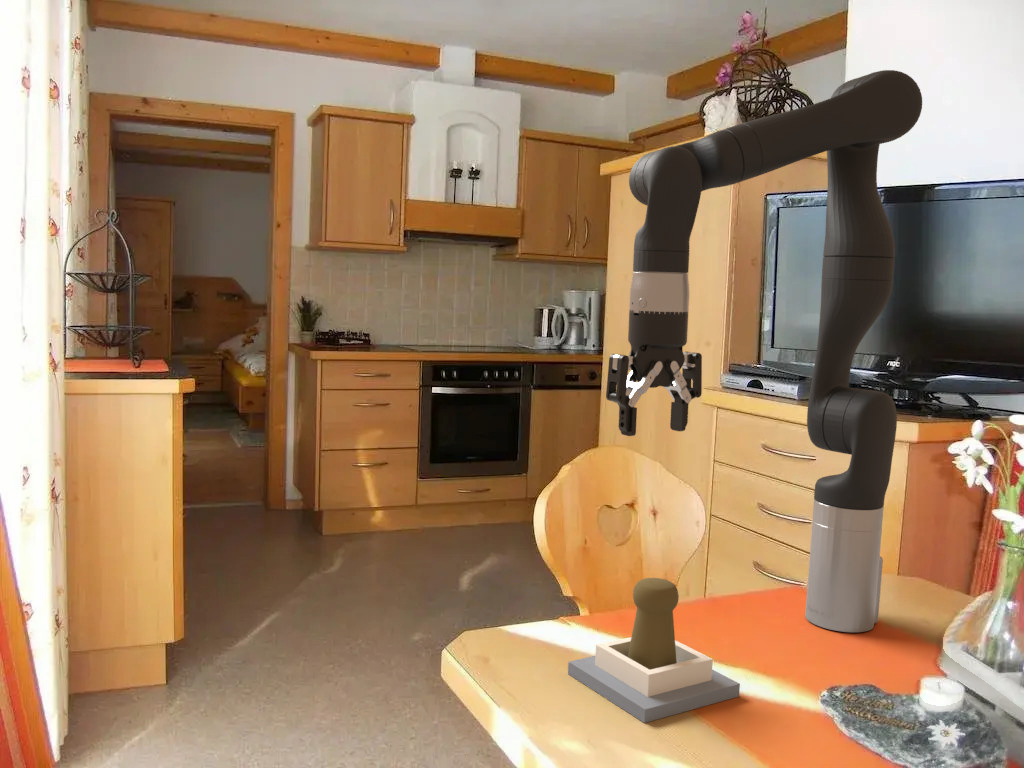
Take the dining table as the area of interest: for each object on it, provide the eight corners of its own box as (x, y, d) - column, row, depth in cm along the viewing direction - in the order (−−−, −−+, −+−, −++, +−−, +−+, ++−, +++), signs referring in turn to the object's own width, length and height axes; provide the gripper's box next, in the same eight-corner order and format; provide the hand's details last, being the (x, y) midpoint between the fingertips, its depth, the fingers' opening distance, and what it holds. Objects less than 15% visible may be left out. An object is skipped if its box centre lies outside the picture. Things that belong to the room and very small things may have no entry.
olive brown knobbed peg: (676, 686, 104) (681, 591, 103) (622, 679, 105) (627, 585, 104) (679, 665, 110) (684, 575, 109) (628, 659, 111) (632, 570, 110)
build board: (657, 652, 118) (659, 622, 117) (739, 696, 106) (741, 662, 105) (567, 673, 110) (569, 641, 110) (644, 723, 98) (646, 686, 98)
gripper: (679, 307, 126) (674, 425, 128) (596, 306, 118) (592, 432, 120) (720, 309, 120) (713, 433, 121) (635, 309, 112) (629, 441, 114)
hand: (653, 432), depth 121 cm, fingers open, 8 cm apart
